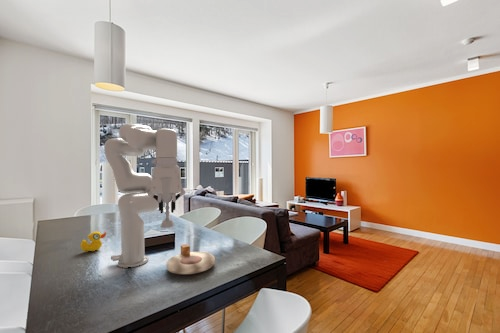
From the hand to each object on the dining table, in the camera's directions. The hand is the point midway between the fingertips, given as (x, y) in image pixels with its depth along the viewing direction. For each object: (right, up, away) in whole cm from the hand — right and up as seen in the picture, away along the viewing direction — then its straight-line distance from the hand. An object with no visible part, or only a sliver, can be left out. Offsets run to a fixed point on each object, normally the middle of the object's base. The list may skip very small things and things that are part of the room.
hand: (167, 211), depth 89 cm
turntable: (+6, -25, +14) cm, 29 cm away
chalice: (0, -5, 0) cm, 5 cm away
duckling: (-52, -28, +37) cm, 70 cm away
